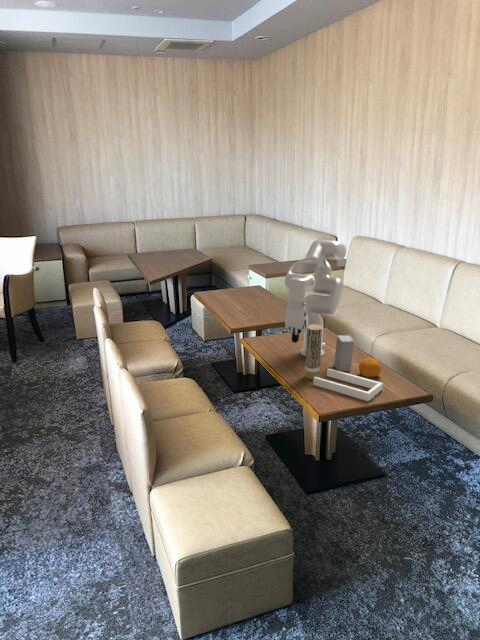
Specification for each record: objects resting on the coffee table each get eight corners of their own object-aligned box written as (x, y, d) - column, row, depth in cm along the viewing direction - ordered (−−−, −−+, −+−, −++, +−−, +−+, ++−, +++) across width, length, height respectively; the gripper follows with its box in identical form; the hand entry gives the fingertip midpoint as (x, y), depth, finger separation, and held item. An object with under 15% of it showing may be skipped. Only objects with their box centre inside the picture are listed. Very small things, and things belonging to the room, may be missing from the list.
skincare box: (333, 365, 262) (335, 335, 257) (347, 364, 263) (349, 334, 258) (337, 371, 254) (339, 340, 249) (352, 371, 255) (354, 340, 250)
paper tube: (320, 375, 250) (323, 325, 242) (317, 381, 244) (320, 329, 236) (306, 373, 252) (308, 323, 244) (303, 379, 246) (305, 328, 238)
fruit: (354, 376, 249) (355, 360, 247) (363, 369, 257) (365, 354, 255) (375, 381, 243) (376, 365, 241) (384, 374, 251) (385, 358, 249)
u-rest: (328, 375, 250) (328, 368, 249) (382, 390, 234) (382, 383, 233) (313, 384, 240) (313, 377, 239) (368, 401, 224) (369, 393, 223)
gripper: (314, 305, 242) (312, 343, 247) (287, 299, 251) (286, 336, 256) (306, 308, 236) (304, 347, 241) (278, 303, 245) (277, 340, 250)
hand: (295, 341), depth 249 cm, fingers closed
